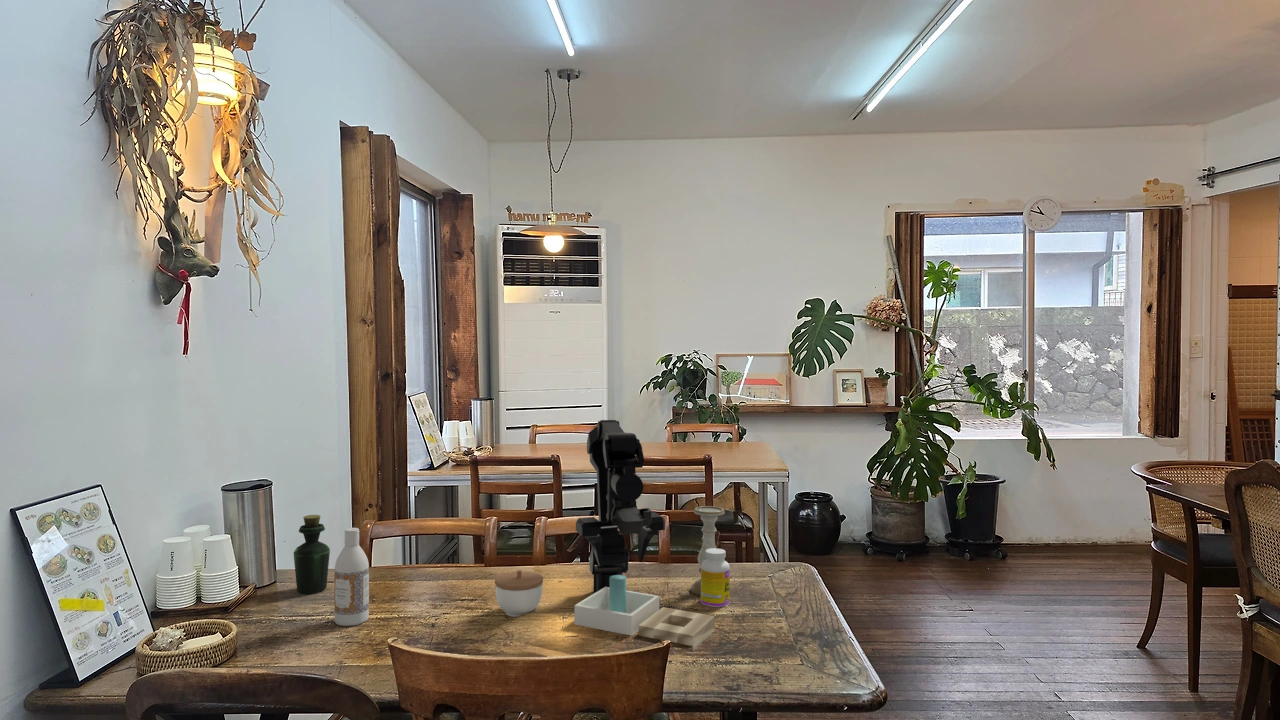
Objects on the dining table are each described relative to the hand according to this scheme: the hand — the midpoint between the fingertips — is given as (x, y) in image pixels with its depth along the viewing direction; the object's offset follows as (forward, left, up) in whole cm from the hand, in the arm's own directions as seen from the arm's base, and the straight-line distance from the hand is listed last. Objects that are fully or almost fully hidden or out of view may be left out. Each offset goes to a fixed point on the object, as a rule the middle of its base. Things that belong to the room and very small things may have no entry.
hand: (620, 563), depth 159 cm
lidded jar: (-23, -4, -13) cm, 27 cm away
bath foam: (-52, -25, -13) cm, 60 cm away
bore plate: (+14, 0, -13) cm, 19 cm away
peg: (0, 0, -12) cm, 12 cm away
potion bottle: (-77, -15, -13) cm, 79 cm away
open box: (0, 0, -13) cm, 13 cm away
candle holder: (+10, +29, -13) cm, 33 cm away
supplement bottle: (+15, +20, -13) cm, 28 cm away
